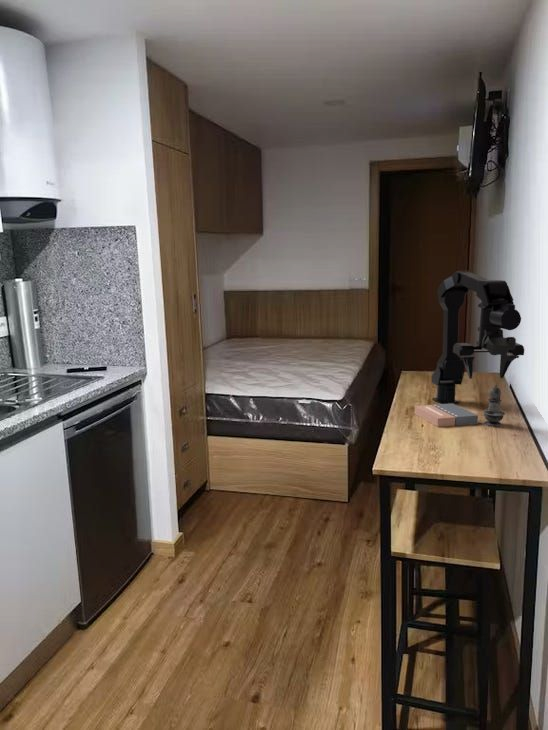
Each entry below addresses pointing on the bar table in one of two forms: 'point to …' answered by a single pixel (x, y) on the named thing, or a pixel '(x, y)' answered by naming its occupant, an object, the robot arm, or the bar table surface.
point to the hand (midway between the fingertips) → (485, 378)
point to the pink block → (435, 415)
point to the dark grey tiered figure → (494, 409)
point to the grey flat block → (458, 414)
